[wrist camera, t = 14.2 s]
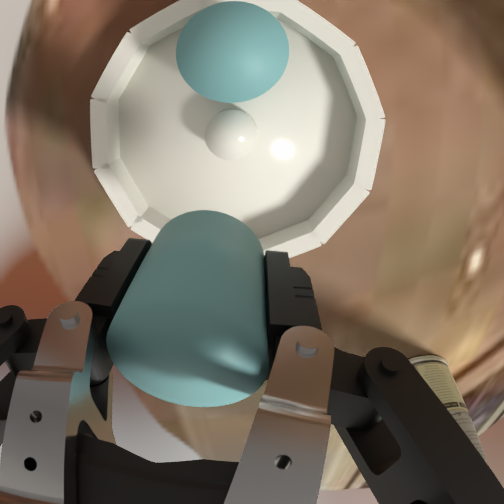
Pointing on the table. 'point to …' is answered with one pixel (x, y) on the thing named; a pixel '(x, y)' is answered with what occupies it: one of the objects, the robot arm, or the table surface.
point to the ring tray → (238, 133)
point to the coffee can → (447, 393)
